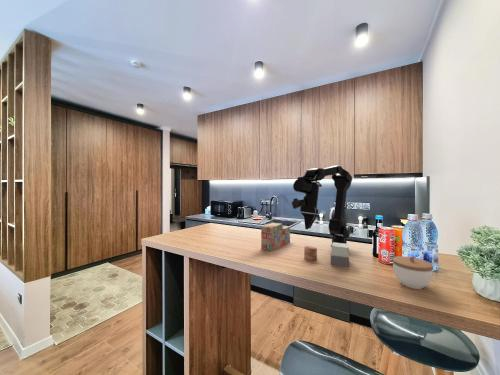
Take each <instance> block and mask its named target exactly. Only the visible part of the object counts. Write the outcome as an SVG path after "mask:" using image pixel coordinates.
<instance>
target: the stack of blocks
mask: <svg viewBox="0 0 500 375" xmlns="http://www.w3.org/2000/svg"><path fill="white" fill-rule="evenodd" d="M260 230H261V232H260V233H261V234H260V238H261V244H260V245H261V246H260V247H261V248H260V249H261V250H264V251H270V252H273V251H275V250H277V249H279V248H281V247H283V246H285V245H286V244H289V243H291V227H290V225H289V226H287V225H283V223H282V222H281V223H280V222H270V223H267V224H263V225H261V229H260Z"/></svg>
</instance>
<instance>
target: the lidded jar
mask: <svg viewBox="0 0 500 375" xmlns="http://www.w3.org/2000/svg"><path fill="white" fill-rule="evenodd" d="M392 268H393V273H394V276H395V277H396V279H397V280H398V281H399V283H400V284H401V283H402V284H401V285H403V286H404V285H405V287H407V288H409V287H410V288H409V289H413V290H414V289H415V290H422V288H423V289H424V287H427V286H428V285H429V284H430V283H431V281H432V279H433V273H434V272H433V271H434V265H433V264H432V262H428V261H427V260H424V259H422V258H421V259H420V258H417V257H414V256H412V255H411V256H400V255H399V256H394V257H393V258H392Z"/></svg>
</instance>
